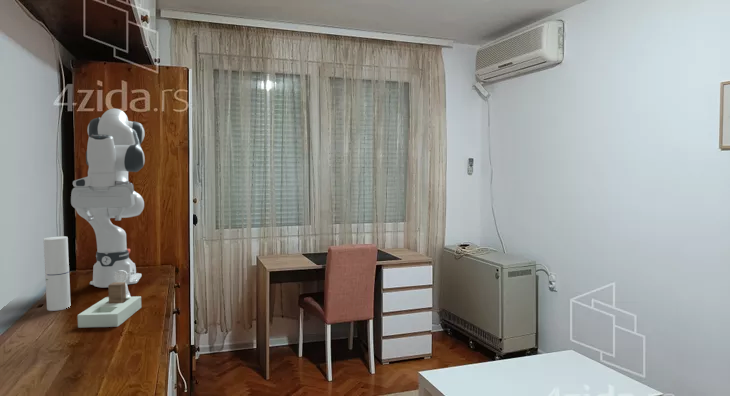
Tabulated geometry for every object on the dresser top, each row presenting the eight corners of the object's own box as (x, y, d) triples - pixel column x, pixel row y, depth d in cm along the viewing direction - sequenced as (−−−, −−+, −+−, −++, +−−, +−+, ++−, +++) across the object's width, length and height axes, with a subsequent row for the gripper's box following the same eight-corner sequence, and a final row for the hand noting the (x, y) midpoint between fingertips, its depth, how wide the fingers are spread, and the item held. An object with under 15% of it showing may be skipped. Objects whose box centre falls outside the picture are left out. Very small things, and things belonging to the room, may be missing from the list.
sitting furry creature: (103, 306, 173) (101, 273, 172) (109, 300, 182) (107, 268, 181) (132, 304, 176) (131, 272, 175) (136, 298, 184) (135, 267, 183)
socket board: (106, 308, 172) (105, 297, 171) (141, 307, 173) (141, 296, 172) (78, 327, 152) (77, 315, 151) (117, 326, 153) (117, 314, 152)
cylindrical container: (59, 311, 168) (56, 239, 166) (41, 310, 169) (38, 239, 167) (75, 305, 175) (72, 236, 173) (58, 304, 176) (55, 236, 174)
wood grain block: (114, 310, 169) (113, 282, 168) (126, 310, 169) (125, 282, 168) (109, 314, 165) (108, 285, 164) (121, 313, 165) (120, 285, 164)
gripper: (136, 180, 173) (138, 219, 174) (77, 180, 171) (78, 219, 172) (129, 181, 167) (131, 221, 168) (67, 181, 165) (69, 221, 166)
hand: (104, 220), depth 170 cm, fingers open, 8 cm apart
